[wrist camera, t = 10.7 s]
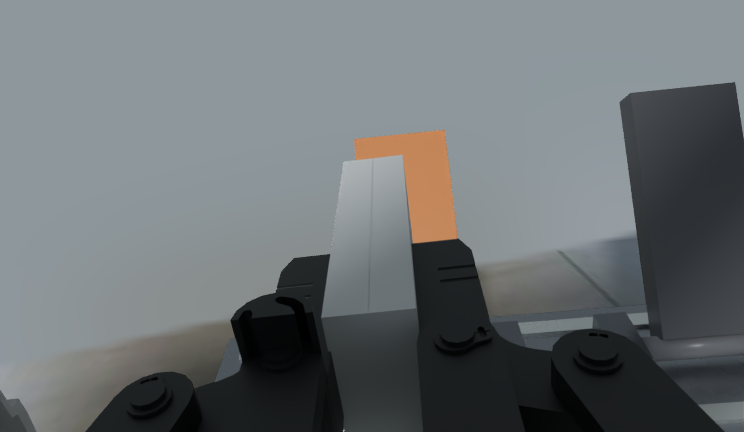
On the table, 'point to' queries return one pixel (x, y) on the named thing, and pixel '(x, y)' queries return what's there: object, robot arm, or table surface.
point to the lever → (420, 180)
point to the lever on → (689, 217)
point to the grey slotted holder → (542, 330)
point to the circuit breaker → (14, 416)
